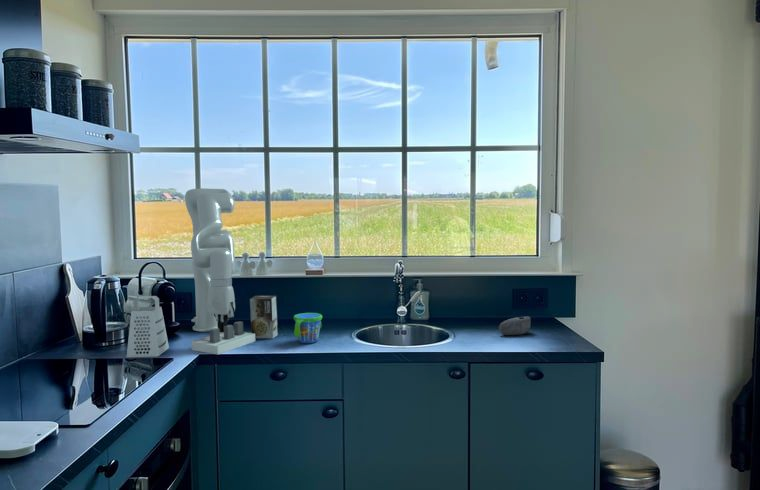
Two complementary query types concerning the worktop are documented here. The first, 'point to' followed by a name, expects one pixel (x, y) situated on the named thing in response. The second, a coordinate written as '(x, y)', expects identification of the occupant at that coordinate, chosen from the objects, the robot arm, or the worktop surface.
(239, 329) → the gray rectangular block
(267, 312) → the coffee box
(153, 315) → the grater
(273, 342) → the worktop surface
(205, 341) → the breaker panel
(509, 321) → the perforated stone tool
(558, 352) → the worktop surface
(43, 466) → the worktop surface
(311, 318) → the snack cup
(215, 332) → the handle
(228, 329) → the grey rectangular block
